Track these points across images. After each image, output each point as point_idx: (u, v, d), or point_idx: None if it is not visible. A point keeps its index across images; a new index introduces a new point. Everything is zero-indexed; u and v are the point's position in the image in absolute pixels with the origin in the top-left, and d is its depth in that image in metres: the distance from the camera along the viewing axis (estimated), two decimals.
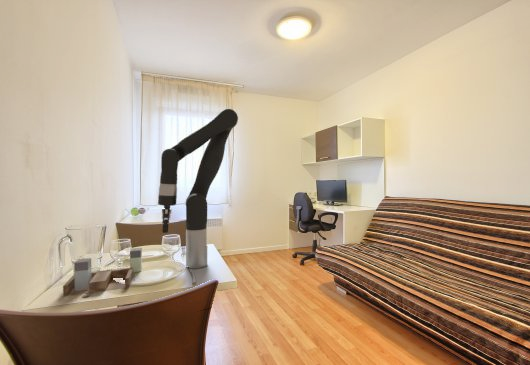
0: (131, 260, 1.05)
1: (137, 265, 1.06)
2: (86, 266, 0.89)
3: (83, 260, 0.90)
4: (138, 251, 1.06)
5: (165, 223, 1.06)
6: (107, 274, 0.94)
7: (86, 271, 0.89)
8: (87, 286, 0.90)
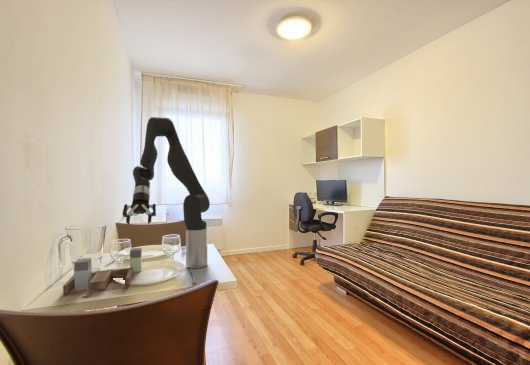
0: (131, 260, 1.05)
1: (137, 265, 1.06)
2: (86, 266, 0.89)
3: (83, 260, 0.90)
4: (138, 251, 1.06)
5: (124, 216, 1.19)
6: (107, 274, 0.94)
7: (86, 271, 0.89)
8: (87, 286, 0.90)
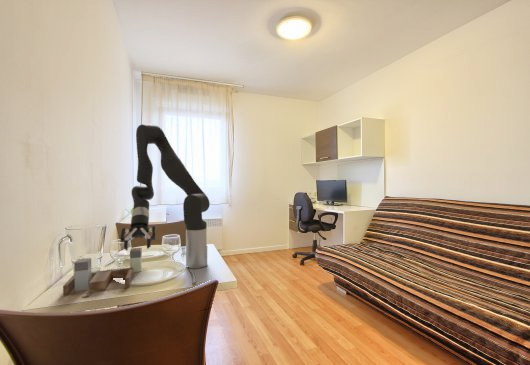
0: (131, 260, 1.05)
1: (137, 265, 1.06)
2: (86, 266, 0.89)
3: (83, 260, 0.90)
4: (138, 251, 1.06)
5: (122, 241, 1.12)
6: (107, 274, 0.94)
7: (86, 271, 0.89)
8: (87, 286, 0.90)
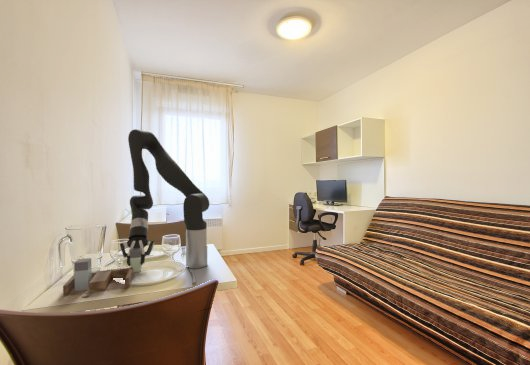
0: (131, 260, 1.05)
1: (137, 265, 1.06)
2: (86, 266, 0.89)
3: (83, 260, 0.90)
4: (138, 251, 1.06)
5: (126, 256, 1.07)
6: (107, 274, 0.94)
7: (86, 271, 0.89)
8: (87, 286, 0.90)
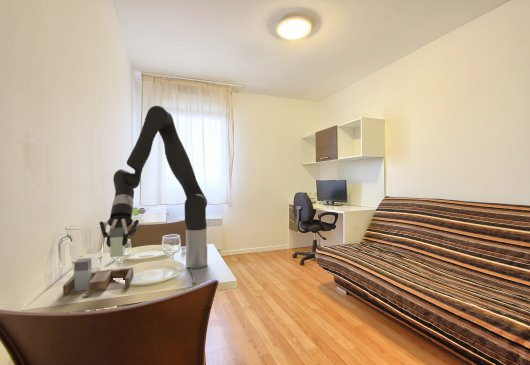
0: (111, 240, 0.92)
1: (119, 246, 0.93)
2: (86, 266, 0.89)
3: (83, 260, 0.90)
4: (120, 230, 0.93)
5: None
6: (107, 274, 0.94)
7: (86, 271, 0.89)
8: (87, 286, 0.90)
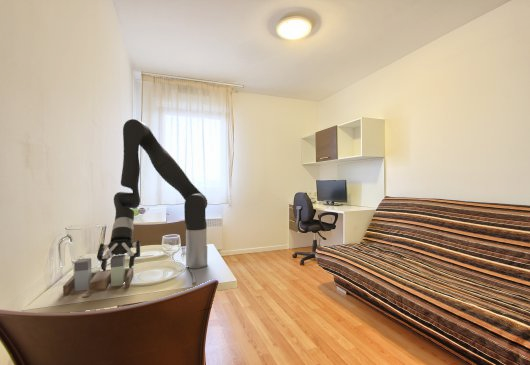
0: (112, 269, 0.92)
1: (119, 276, 0.93)
2: (86, 266, 0.89)
3: (83, 260, 0.90)
4: (120, 259, 0.93)
5: (99, 259, 0.94)
6: (107, 274, 0.94)
7: (86, 271, 0.89)
8: (87, 286, 0.90)
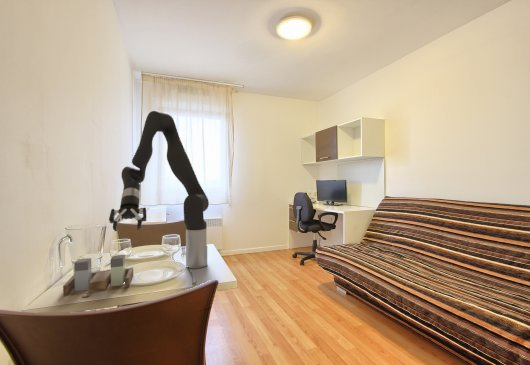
0: (112, 269, 0.92)
1: (119, 276, 0.93)
2: (86, 266, 0.89)
3: (83, 260, 0.90)
4: (120, 259, 0.93)
5: (111, 222, 1.07)
6: (107, 274, 0.94)
7: (86, 271, 0.89)
8: (87, 286, 0.90)
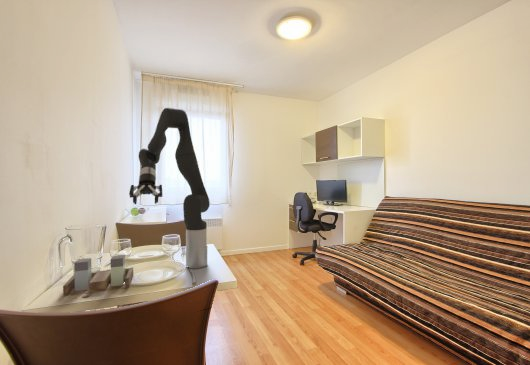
0: (112, 269, 0.92)
1: (119, 276, 0.93)
2: (86, 266, 0.89)
3: (83, 260, 0.90)
4: (120, 259, 0.93)
5: (131, 196, 1.18)
6: (107, 274, 0.94)
7: (86, 271, 0.89)
8: (87, 286, 0.90)
